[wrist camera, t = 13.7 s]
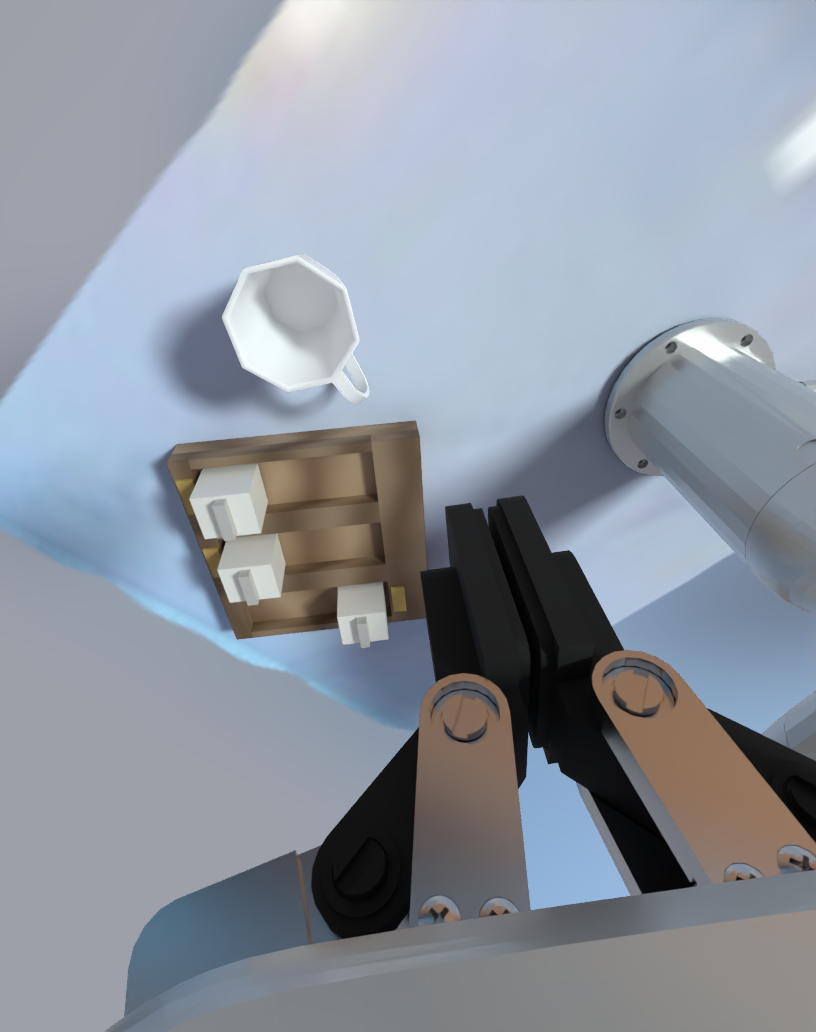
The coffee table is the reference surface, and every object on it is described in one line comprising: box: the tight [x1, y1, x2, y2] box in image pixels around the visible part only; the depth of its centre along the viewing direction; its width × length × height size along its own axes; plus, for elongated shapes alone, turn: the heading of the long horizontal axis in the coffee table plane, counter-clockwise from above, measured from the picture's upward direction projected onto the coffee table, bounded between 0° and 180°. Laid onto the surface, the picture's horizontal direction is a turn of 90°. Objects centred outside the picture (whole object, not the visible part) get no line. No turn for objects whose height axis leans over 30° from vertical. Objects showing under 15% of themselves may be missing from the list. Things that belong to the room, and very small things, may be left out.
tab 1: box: [189, 463, 268, 541], centre depth 37 cm, size 4×4×5 cm
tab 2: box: [337, 582, 389, 648], centre depth 45 cm, size 4×4×5 cm
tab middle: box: [217, 533, 286, 606], centre depth 41 cm, size 4×4×5 cm
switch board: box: [167, 421, 427, 639], centre depth 43 cm, size 18×19×3 cm
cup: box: [222, 254, 370, 405], centre depth 31 cm, size 7×10×8 cm
